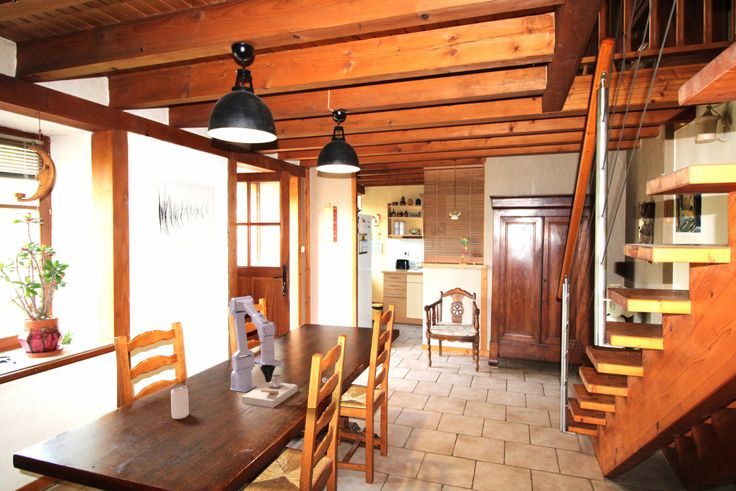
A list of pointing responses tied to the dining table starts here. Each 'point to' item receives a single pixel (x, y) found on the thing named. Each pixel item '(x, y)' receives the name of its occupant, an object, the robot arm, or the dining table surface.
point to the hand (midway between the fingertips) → (268, 381)
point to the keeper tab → (269, 391)
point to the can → (179, 402)
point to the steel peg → (276, 381)
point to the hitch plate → (269, 395)
